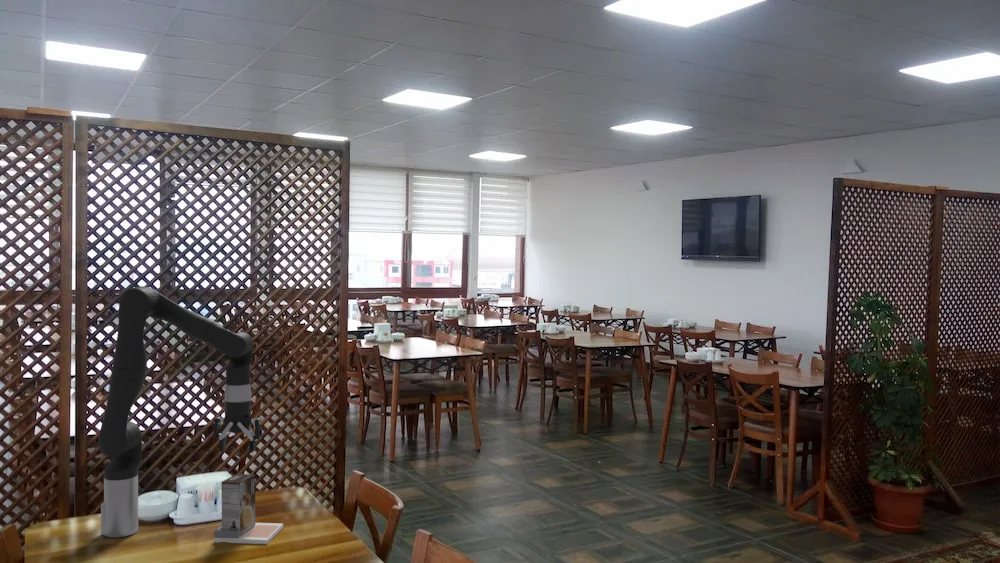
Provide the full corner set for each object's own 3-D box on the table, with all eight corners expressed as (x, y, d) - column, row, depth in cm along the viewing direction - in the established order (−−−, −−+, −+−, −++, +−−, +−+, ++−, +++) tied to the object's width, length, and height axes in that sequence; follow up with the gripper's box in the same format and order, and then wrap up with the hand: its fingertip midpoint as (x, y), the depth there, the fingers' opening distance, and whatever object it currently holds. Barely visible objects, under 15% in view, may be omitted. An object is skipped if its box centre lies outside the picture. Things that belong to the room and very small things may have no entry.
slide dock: (213, 542, 222) (213, 531, 222) (233, 525, 236) (233, 515, 236) (267, 544, 221) (267, 533, 221) (283, 527, 235) (283, 517, 235)
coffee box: (236, 524, 234) (237, 472, 234) (255, 525, 233) (256, 474, 232) (220, 534, 225) (221, 481, 225) (240, 536, 224) (240, 482, 223)
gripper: (209, 400, 225) (209, 454, 225) (256, 401, 224) (255, 456, 224) (220, 395, 232) (219, 448, 233) (265, 397, 231) (265, 449, 232)
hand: (237, 452), depth 228 cm, fingers open, 8 cm apart
